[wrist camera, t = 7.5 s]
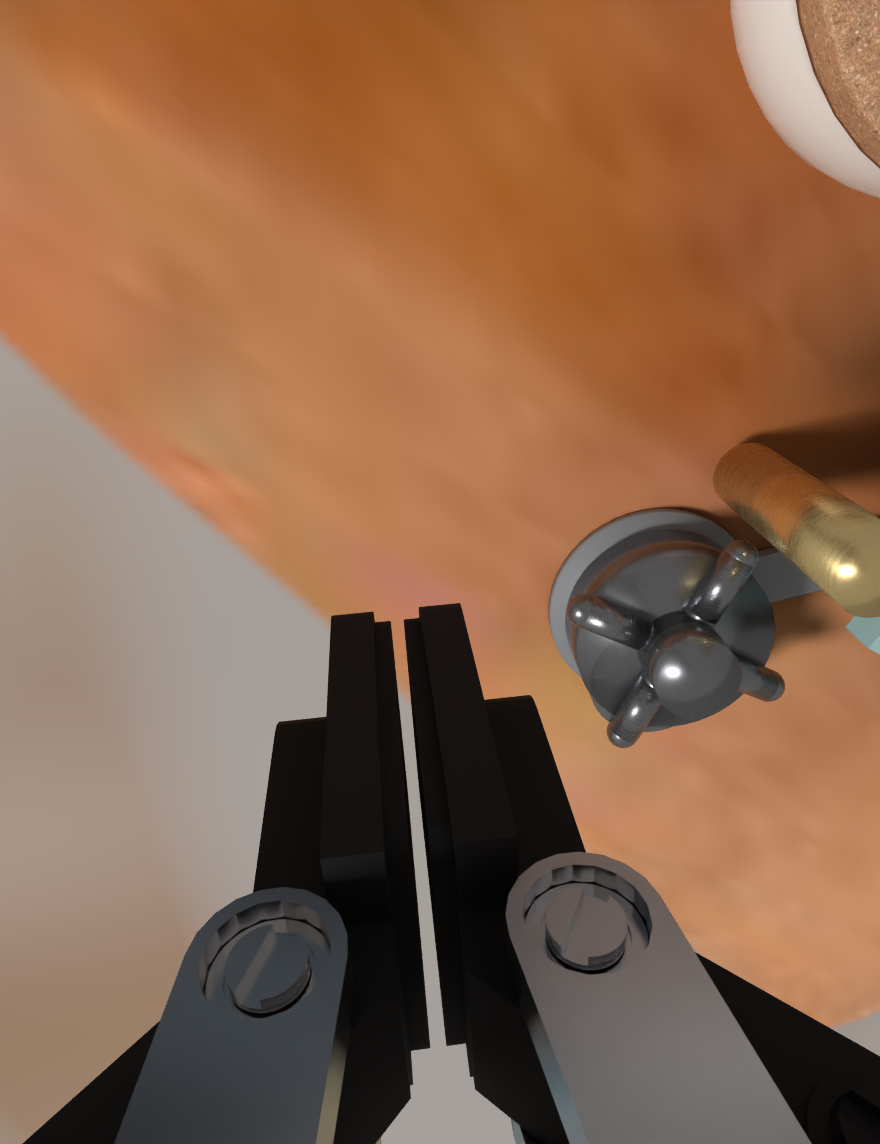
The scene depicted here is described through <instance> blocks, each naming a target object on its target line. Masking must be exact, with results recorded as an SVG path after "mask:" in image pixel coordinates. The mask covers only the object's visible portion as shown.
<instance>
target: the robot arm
mask: <svg viewBox="0 0 880 1144" xmlns="http://www.w3.org/2000/svg"><path fill="white" fill-rule="evenodd" d="M404 628H405V639H406V650H407V661H408V672H409V683H410V694H411V705H412V716H413V727H414V738H415V749H416V760H417V771H418V780H419V781H418V782H419V791H420V802H421V810H422V820H423V830H424V839H425V848H426V858H427V868H428V877H429V885H430V895H431V905H432V913H433V924H434V933H435V943H436V951H437V961H438V970H439V980H440V989H441V998H442V1008H443V1017H444V1027H445V1036H446V1045H447V1046H449V1045H457V1044H464V1043H466V1048H467V1056H468V1063H469V1071H470V1077H472V1076H473V1077H474V1083H475V1089H476V1090H477V1091H478V1092H479V1093H480V1094H482V1095H483V1096H484V1097H485V1098H487V1099H488V1100H489V1101H490V1102H491V1103H493V1104H494V1105H495V1106H496V1107H498V1108H499V1109H500V1110H501V1111H503V1112H504V1113H505V1114H506V1115H508V1116H509V1117H510V1118H511V1123H512V1129H513V1135H514V1139H515V1142H516V1144H880V1056H878V1055H876V1054H874V1053H873V1052H871V1051H869V1050H867V1049H866V1048H864V1047H862V1046H860V1045H859V1044H857V1043H855V1042H853V1041H852V1040H850V1039H848V1038H846V1037H845V1036H843V1035H841V1034H839V1033H837V1032H836V1031H834V1030H832V1029H830V1028H829V1027H827V1026H825V1025H823V1024H821V1023H820V1022H818V1021H816V1020H814V1019H813V1018H811V1017H809V1016H807V1015H806V1014H804V1013H802V1012H800V1011H798V1010H797V1009H795V1008H793V1007H791V1006H790V1005H788V1004H786V1003H784V1002H783V1001H781V1000H779V999H777V998H775V997H774V996H772V995H770V994H768V993H767V992H765V991H763V990H761V989H760V988H758V987H756V986H754V985H752V984H751V983H749V982H747V981H745V980H744V979H742V978H740V977H738V976H736V975H735V974H733V973H731V972H729V971H728V970H726V969H724V968H722V967H721V966H719V965H717V964H715V963H713V962H712V961H710V960H708V959H706V958H705V957H703V956H701V955H699V954H698V953H696V952H694V950H693V949H692V947H691V945H690V944H689V942H688V941H687V939H686V937H685V936H684V934H683V932H682V931H681V929H680V927H679V926H678V924H677V923H676V921H675V919H674V918H673V916H672V914H671V913H670V911H669V909H668V908H667V906H666V905H665V903H664V901H663V900H662V898H661V896H660V895H659V894H658V893H657V891H656V890H655V889H654V888H653V887H652V885H651V884H650V883H649V882H648V881H647V879H646V878H645V877H643V876H642V875H641V874H639V873H638V872H636V871H635V870H633V869H632V868H631V867H629V866H628V865H626V864H625V863H622V862H620V861H617V860H614V859H612V858H609V857H607V856H604V855H600V854H592V853H586V851H585V848H584V845H583V843H582V840H581V837H580V834H579V831H578V828H577V825H576V822H575V819H574V816H573V813H572V810H571V807H570V804H569V801H568V798H567V795H566V792H565V790H564V787H563V784H562V781H561V778H560V775H559V772H558V769H557V766H556V763H555V760H554V757H553V754H552V751H551V748H550V745H549V742H548V740H547V737H546V734H545V731H544V728H543V725H542V722H541V719H540V716H539V713H538V710H537V707H536V704H535V702H534V700H533V698H532V697H531V696H530V695H526V696H517V697H507V698H498V699H489V700H484V697H483V693H482V689H481V685H480V681H479V677H478V673H477V669H476V665H475V661H474V656H473V652H472V648H471V644H470V640H469V636H468V632H467V628H466V624H465V620H464V616H463V612H462V608H461V605H460V603H456V604H446V605H436V606H426V607H419V618H415V619H405V620H404ZM329 654H330V655H329V674H328V696H327V716H326V717H321V718H311V719H302V720H292V721H283V722H279V723H278V724H277V726H276V731H275V736H274V744H273V752H272V758H271V766H270V773H269V780H268V788H267V795H266V802H265V809H264V817H263V824H262V832H261V839H260V846H259V853H258V860H257V869H256V875H255V883H254V890H253V893H251V894H249V895H246V896H243V897H241V898H238V899H236V900H235V901H233V902H231V903H230V904H228V905H227V906H225V907H224V908H222V909H221V910H219V911H218V912H216V913H215V914H214V915H213V916H212V917H211V918H210V919H209V920H208V922H207V923H206V924H205V925H204V926H203V927H202V928H201V929H200V930H199V931H198V932H197V934H196V935H195V937H194V939H193V941H192V943H191V945H190V946H189V948H188V950H187V952H186V954H185V956H184V958H183V961H182V964H181V967H180V969H179V972H178V975H177V977H176V980H175V983H174V985H173V988H172V990H171V993H170V996H169V998H168V1001H167V1004H166V1006H165V1009H164V1012H163V1014H162V1017H161V1020H160V1021H159V1022H158V1023H157V1024H156V1025H155V1026H153V1027H152V1028H151V1029H150V1030H149V1031H148V1032H147V1033H146V1034H145V1035H143V1037H141V1038H140V1039H139V1040H138V1041H137V1042H136V1043H135V1044H134V1045H132V1046H131V1047H130V1048H129V1049H128V1050H127V1051H126V1052H124V1053H123V1054H122V1055H121V1056H120V1057H119V1058H118V1059H117V1060H115V1062H113V1063H112V1064H111V1065H110V1066H109V1067H108V1068H107V1069H106V1070H104V1071H103V1072H102V1073H101V1074H100V1075H99V1076H98V1077H96V1078H95V1079H94V1080H93V1081H92V1082H91V1083H90V1084H89V1085H88V1086H86V1087H85V1088H84V1089H83V1090H82V1091H81V1092H80V1093H79V1094H77V1095H76V1096H75V1097H74V1098H73V1099H72V1100H71V1101H70V1102H69V1103H68V1104H66V1105H65V1106H64V1107H63V1108H62V1109H61V1110H60V1111H59V1112H57V1113H56V1114H55V1115H54V1116H53V1117H52V1118H51V1119H50V1120H48V1121H47V1122H46V1123H45V1124H44V1125H43V1126H42V1127H41V1128H39V1129H38V1130H37V1131H36V1132H35V1133H34V1134H33V1135H32V1136H31V1137H29V1139H27V1140H26V1141H25V1142H24V1143H23V1144H381V1136H382V1135H383V1133H384V1132H385V1131H386V1129H387V1128H388V1127H389V1126H390V1124H391V1123H392V1122H393V1120H394V1119H395V1118H396V1116H397V1115H398V1114H399V1113H400V1111H401V1110H402V1109H403V1108H404V1106H405V1105H406V1104H407V1102H408V1101H409V1100H410V1098H411V1096H410V1085H413V1077H412V1062H411V1051H412V1050H419V1049H426V1048H430V1040H429V1028H428V1017H427V1005H426V995H425V983H424V971H423V960H422V950H421V938H420V926H419V915H418V903H417V892H416V881H415V869H414V859H413V846H412V835H411V823H410V812H409V801H408V790H407V780H406V770H405V760H404V750H403V741H402V730H401V720H400V710H399V700H398V690H397V680H396V670H395V660H394V650H393V640H392V630H391V621H385V622H375V620H374V613H373V612H365V613H355V614H345V615H335V616H332V617H331V632H330V653H329Z"/></svg>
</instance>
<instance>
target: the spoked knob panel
mask: <svg viewBox="0 0 880 1144" xmlns="http://www.w3.org/2000/svg"><path fill="white" fill-rule="evenodd" d="M666 529H675V530H685V531H689V532H694V533H697V534H700V535H703V536H706V537H708V538H710V539H711V540H713V541H715V542H717V543H718V544H719V545H721V546H722V547H723V548H725V547H726V545H728V544H729V543H730V542H732V541H735V540H734V539H733V537H732V536H731V535H730V534H729V533H728V532H726V531H725V530H724V529H723V528H722V527H720V526H719V525H718V524H716V523H715V522H713V521H711V520H710V519H708V518H706V517H703V516H701V515H699V514H696V513H693V512H689V511H685V510H679V509H671V508H655V509H647V510H641V511H637V512H633V513H629V514H626V515H623V516H621V517H618V518H615V519H613V520H611V521H609V522H607V523H606V524H604V525H602V526H600V527H599V528H597V529H596V530H594V531H593V532H591V533H590V534H589V535H588V536H587V537H585V538H584V539H583V540H582V541H581V542H580V543H579V544H578V545H577V546H576V547H575V548H574V549H573V550H572V551H571V552H570V554H569V555H568V557H567V558H566V559H565V561H564V562H563V564H562V566H561V568H560V569H559V571H558V573H557V575H556V578H555V580H554V583H553V586H552V589H551V594H550V598H549V610H548V611H549V623H550V628H551V632H552V635H553V638H554V641H555V643H556V646H557V648H558V650H559V652H560V654H561V656H562V657H563V659H564V660H565V662H566V663H567V664H568V665H569V667H570V668H571V669H572V670H573V671H575V672H576V673H577V674H578V675H579V676H580V677H581V674H580V672H579V669H578V667H577V664H576V662H575V659H574V657H573V654H572V652H571V649H570V646H569V644H568V640H567V636H566V629H565V614H566V607H567V604H568V600H569V597H570V594H571V592H572V590H573V588H574V586H575V584H576V582H577V580H578V579H579V577H580V576H581V574H582V573H583V571H584V570H585V569H586V568H587V567H588V566H589V565H590V563H591V562H592V561H593V560H595V559H596V558H597V557H598V556H599V555H600V554H601V553H603V552H604V551H605V550H607V549H608V548H610V547H611V546H613V545H615V544H617V543H618V542H620V541H622V540H624V539H627V538H629V537H631V536H634V535H637V534H641V533H644V532H648V531H655V530H666ZM758 553H759V561H758V564H757V566H756V567H755V569H754V570H753V572H752V573H751V576H752V577H753V578H754V579H755V580H756V581H757V582H758V583H759V584H760V586H761V587H762V589H763V590H764V592H765V593H766V595H767V597H768V599H769V601H770V603H773V602H777V601H781V600H785V599H789V598H793V597H797V596H801V595H805V594H809V593H813V592H817V591H821V590H822V589H821V588H820V587H819V586H818V585H817V584H816V583H814V582H813V581H812V580H811V579H810V578H809V577H808V576H807V575H806V574H804V573H803V572H802V571H801V570H800V569H799V568H798V567H797V566H795V565H794V564H793V563H792V562H791V561H790V560H789V559H788V558H786V557H785V556H784V555H783V554H782V553H781V552H780V551H779V550H777V549H776V548H775V547H773V548H769V549H765V550H761V551H758ZM846 628H847V629H848V630H849V631H850V632H851V633H852V634H853V635H854V636H855V637H856V638H857V639H859V640H860V641H861V642H862V643H863V644H864V645H865V646H866V647H867V648H868V649H870V650H872V651H874V652H876V653H878V654H880V617H875V618H863V617H858V616H854V617H853V619H852V620H851V621H850V622H849V624H848V625H847V626H846Z"/></svg>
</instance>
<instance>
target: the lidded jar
mask: <svg viewBox="0 0 880 1144" xmlns="http://www.w3.org/2000/svg"><path fill="white" fill-rule="evenodd" d="M730 8H731V20H732V25H733V31H734V37H735V43H736V49H737V53H738V56H739V59H740V62H741V65H742V68H743V71H744V74H745V77H746V80H747V83H748V85H749V87H750V89H751V91H752V93H753V95H754V97H755V99H756V101H757V102H758V104H759V106H760V108H761V110H762V112H763V114H764V116H765V118H766V119H767V121H768V122H769V123H770V124H771V126H772V127H773V128H774V130H775V131H776V132H777V133H778V135H779V136H780V137H781V139H782V140H783V141H784V143H785V144H786V145H787V146H788V147H789V148H791V149H792V150H793V151H794V152H795V153H796V154H797V155H799V156H800V157H801V158H802V159H803V160H804V161H805V162H806V163H808V164H809V165H810V166H812V167H814V168H815V169H817V170H819V171H820V172H822V173H824V174H826V175H827V176H829V177H831V178H832V179H834V180H836V181H838V182H840V183H842V184H844V185H845V186H847V187H849V188H851V189H854V190H857V191H860V192H863V193H866V194H869V195H872V196H875V197H878V198H880V0H730Z"/></svg>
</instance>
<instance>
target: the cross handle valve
mask: <svg viewBox="0 0 880 1144" xmlns="http://www.w3.org/2000/svg"><path fill="white" fill-rule="evenodd" d="M713 483H714V488H715V491H716V493H717V495H718V496H719V497H720V498H721V500H723V501H724V502H725V503H726V504H727V505H728V506H729V507H730V508H732V509H733V510H734V511H735V512H736V513H737V514H738V515H739V516H740V517H742V518H743V519H744V520H745V521H746V522H747V523H748V524H749V525H751V526H752V527H753V528H754V529H755V530H756V531H757V532H758V533H760V534H761V535H762V536H763V537H764V538H765V539H766V540H767V541H769V542H770V543H771V544H772V545H773V546H774V547H775V548H776V549H777V550H779V551H780V552H781V553H782V554H783V555H784V556H785V557H786V558H788V559H789V560H790V561H791V562H792V563H793V564H794V565H795V566H797V567H798V568H799V569H800V570H801V571H802V572H803V573H804V574H806V575H807V576H808V577H809V578H810V579H811V580H812V581H813V582H814V583H816V584H817V585H818V586H819V587H820V588H821V589H822V590H823V591H825V592H826V593H827V594H828V595H829V596H830V597H831V598H832V599H834V600H835V601H836V602H837V603H838V604H839V605H840V606H841V607H843V608H844V609H845V610H846V611H847V612H849V613H851V614H853V615H855V616H858V617H863V618H875V617H880V519H879V518H878V517H876V516H875V515H873V514H872V513H870V512H868V511H867V510H865V509H864V508H862V507H861V506H859V505H857V504H856V503H854V502H853V501H851V500H850V499H848V498H847V497H845V496H843V495H842V494H840V493H839V492H837V491H836V490H834V489H832V488H831V487H829V486H828V485H826V484H825V483H823V482H822V481H820V480H818V479H817V478H815V477H814V476H812V475H811V474H809V473H807V472H806V471H804V470H803V469H801V468H800V467H798V466H796V465H795V464H793V463H792V462H790V461H789V460H787V459H786V458H784V457H782V456H781V455H779V454H778V453H776V452H775V451H773V450H771V449H770V448H768V447H767V446H765V445H762V444H759V443H746V444H742V445H739V446H737V447H735V448H733V449H731V450H730V451H728V452H727V453H726V454H725V455H724V456H723V457H722V458H721V460H720V461H719V463H718V465H717V467H716V469H715V472H714V478H713ZM758 561H759V553H758V551H757V549H756V547H755V546H754V545H753V544H752V543H750V542H748V541H745V540H735V541H732V542H730V543H729V544H728V545H726V547H725V548H723V547H722V546H721V545H719V544H718V543H717V542H715V541H713V540H711V539H710V538H708V537H706V536H703V535H700V534H697V533H694V532H689V531H685V530H675V529H666V530H655V531H648V532H644V533H641V534H637V535H634V536H631V537H629V538H627V539H624V540H622V541H620V542H618V543H617V544H615V545H613V546H611V547H610V548H608V549H607V550H605V551H604V552H603V553H601V554H600V555H599V556H598V557H597V558H596V559H595V560H593V561H592V562H591V563H590V565H589V566H588V567H587V568H586V569H585V570H584V571H583V573H582V574H581V576H580V577H579V579H578V580H577V582H576V584H575V586H574V588H573V590H572V592H571V594H570V597H569V600H568V604H567V607H566V614H565V629H566V636H567V640H568V644H569V646H570V649H571V652H572V654H573V657H574V659H575V662H576V664H577V667H578V669H579V672H580V674H581V677H582V679H583V682H584V684H585V686H586V688H587V690H588V691H589V693H590V696H591V698H592V701H593V703H594V705H595V707H596V709H597V710H598V712H599V713H600V714H601V715H602V716H603V717H604V718H605V719H606V720H607V721H609V724H608V726H607V736H608V739H609V740H610V742H611V743H612V744H613V745H615V746H617V747H619V748H628V747H630V746H632V745H633V744H635V742H636V741H637V740H638V738H639V737H640V735H641V734H642V732H653V731H659V730H663V729H667V728H670V727H673V726H678V725H684V724H688V723H692V722H696V721H699V720H701V719H704V718H707V717H709V716H711V715H713V714H715V713H717V712H719V711H721V710H722V709H724V708H726V707H727V706H729V705H730V704H732V703H733V702H734V701H735V700H737V699H738V698H739V697H740V696H741V695H742V694H743V693H745V694H747V695H749V696H752V697H754V698H757V699H759V700H762V701H766V702H771V701H775V700H777V699H779V698H780V697H781V696H782V695H783V693H784V690H785V682H784V679H783V678H782V676H781V675H780V674H779V673H777V672H776V671H774V670H771V669H769V668H766V667H764V666H765V664H766V662H767V660H768V658H769V655H770V652H771V649H772V645H773V640H774V629H775V623H774V615H773V611H772V607H771V604H770V601H769V599H768V597H767V595H766V593H765V592H764V590H763V589H762V587H761V586H760V584H759V583H758V582H757V581H756V580H755V579H754V578H753V577H752V576H751V573H752V572H753V570H754V569H755V567H756V566H757V564H758Z"/></svg>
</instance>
